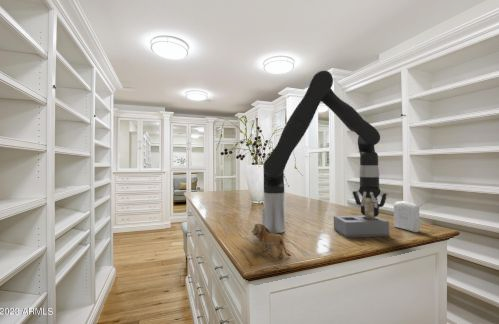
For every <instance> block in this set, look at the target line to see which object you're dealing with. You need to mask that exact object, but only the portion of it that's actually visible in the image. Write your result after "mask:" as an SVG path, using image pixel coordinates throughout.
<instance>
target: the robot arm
mask: <svg viewBox="0 0 499 324" xmlns="http://www.w3.org/2000/svg"><path fill="white" fill-rule="evenodd" d="M333 84H334V78H333V75H332V74H331V72H330V71H329V70H320V71H318V72H316V73H314V75H313V76H312V77H311V80H310V82H309V85H308V87H307V90H306V91H305V94H304V96H302V97H303V98H302V99H301V101H299V103H298V104H297V105H296V108H295V109H294V110H293V112H292V113H291V115H290V116H289V118H288V120H287V122H286V124H285V125H284V128H283V130H282V132H281V134H280V137H279V139H278V141H277V144H276V146H274V148H273V150H272V152H271V153H270V154H269V156H268V157H267V158H266V160H264V163H263V166H262V167H263V209H261V212H262V213H261V221H262V222H261V224H262V225H264V226H265V227H266V228H268V230H269V231H270V232H271V233H273V234H281V233H284V232H285V231H286V223H285V219H286V216H285V215H286V214H285V213H286V212H285V211H286V210H285V208H286V207H285V205H286V204H285V181H284V180H285V179H284V178H285V177H284V176H285V175H284V171H285V168H286V166H287V163H288V161H289V160H290V157H291V155H292V153H293V151H294V150H295V149H296V147H297V146H298V145H299V143H300V142H301V140H302V139H303V137H304V136H305V134H306V133H307V130H308V128H309V127H310V125H311V123H312V121H313V119H314V116H315V115H316V112H317V109H319V105H320V104H321V103H323V104H324V105H325V106H326V107H327V108H328V109H330V110H331V111H332V113H333V114H334V115H336V117H338V119H339V120H340V121H341V122H342V123H343V124H344V126H346V128H347V129H348V130H350V131H351V132H353V133H354V134H356V135H357V136H358V137H357V146H358V152H359V189H358V190H353V191H352V195H353V198H354V201H355V203H356V205H357V206H360V213H361V215H365V205H364V203H365V198H372V201H373V203H374V206H375V208H374V217H378V216H379V215H380V208H382V207H384V206H385V203H386V202H387V198H388V195H389V194H388V193H387V192H383V191H382V190H381V189H380V170H379V155H378V152H376V149H375V145H378V143H380V140H381V134H380V133H379V131H378V129H376V127H375V126H373V125H372V124H371V123H369V122H368V121H366V120H365V119H364V118H363V117H362V115H360V113H359V112H357V110H356V109H355V108H354V107H353V106H351V105H350V104H348V103H347V102H345V101H344V100H342V99H341V98H340V97H339V96H337V94H336V93H335V92H334V91H333V90H332V87H333ZM359 195H361V199H360V197H359ZM379 195H380V197H381V199H380V202H379V200H378V197H379Z"/></svg>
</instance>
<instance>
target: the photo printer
mask: <svg viewBox="0 0 499 324" xmlns="http://www.w3.org/2000/svg"><path fill="white" fill-rule="evenodd" d="M393 227H395V228H397V229H403V230H406V231H409V232H410V231H411V232H413V233H419V232H420V207H419V205H418V204H415V203H414V202H410V201H403V200H402V201H396V202H395V201H394V203H393Z"/></svg>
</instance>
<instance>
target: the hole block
mask: <svg viewBox="0 0 499 324" xmlns="http://www.w3.org/2000/svg"><path fill="white" fill-rule="evenodd" d="M333 230H334V231H336V232H338V233H339V234H340V235H342V236H343V237H345V238H366V237H367V238H368V237H369V238H373V237H390V220H389V221H388V220H386V219H383V218H381V217H378V216H377V217H375V220H367V219H365V215H362V214H361V215H334V216H333Z"/></svg>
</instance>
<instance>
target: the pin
mask: <svg viewBox="0 0 499 324" xmlns="http://www.w3.org/2000/svg"><path fill="white" fill-rule="evenodd" d="M364 205H365V219H367V220H375V217H374V208H375V206H374V203H373V201H372V198H365V203H364Z"/></svg>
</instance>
